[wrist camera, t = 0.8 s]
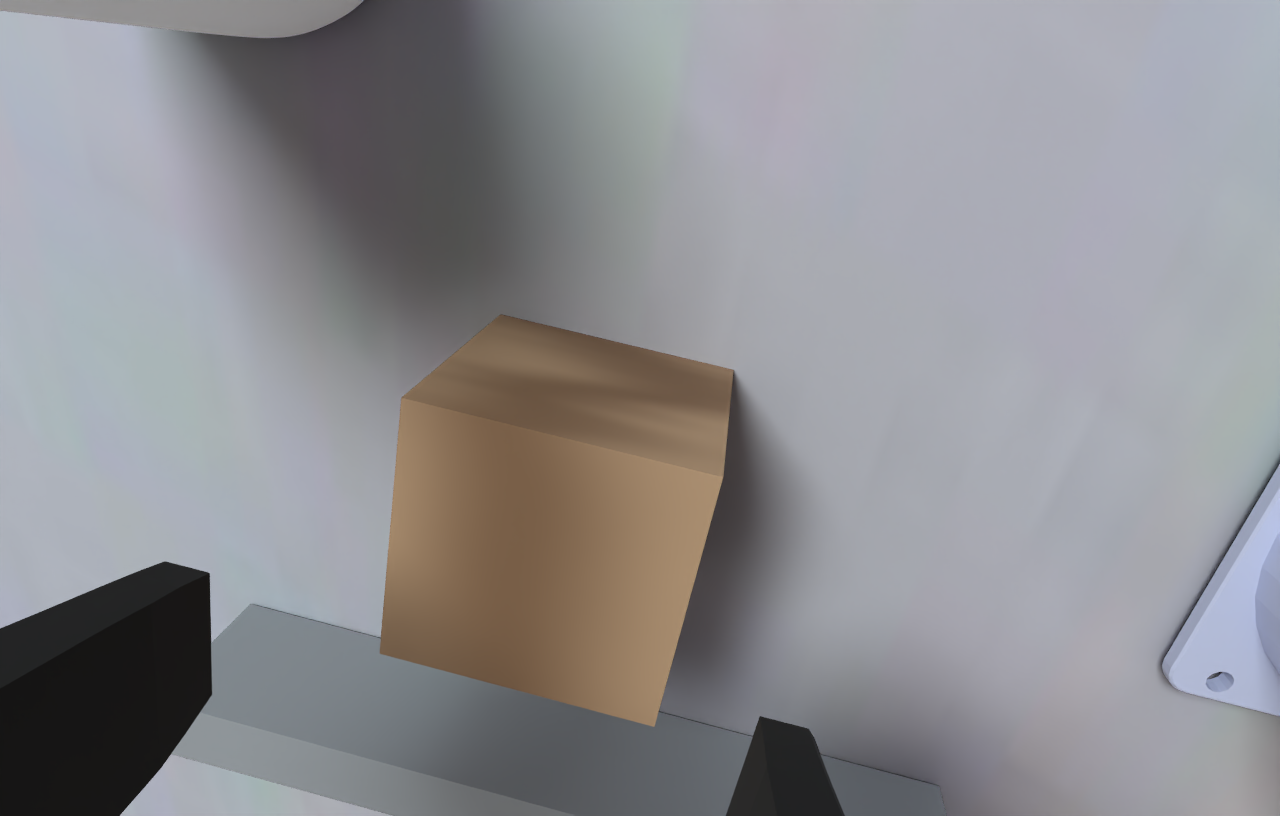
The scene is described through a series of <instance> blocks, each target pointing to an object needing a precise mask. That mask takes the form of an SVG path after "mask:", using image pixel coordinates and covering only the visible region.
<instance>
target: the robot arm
mask: <svg viewBox="0 0 1280 816" xmlns="http://www.w3.org/2000/svg"><path fill="white" fill-rule="evenodd" d="M1162 669H1163V673H1164V675H1165V676H1166V678H1167V679H1168V680H1169V682H1170V683H1171V684H1172V685H1173V687H1174V688H1175V689H1177V690H1180V691H1182V692H1185V693H1189V694H1193V695H1197V696H1200V697H1204V698H1208V699H1212V700H1216V701H1220V702H1224V703H1228V704H1232V705H1236V706H1240V707H1244V708H1248V709H1252V710H1256V711H1260V712H1264V713H1267V714H1271V715H1275V716H1279V717H1280V464H1279V466H1278V468H1277V469H1276V471H1275V473H1274V474H1273V476H1272V478H1271V480H1270V481H1269V483H1268V485H1267V486H1266V488H1265V490H1264V491H1263V493H1262V495H1261V496H1260V498H1259V500H1258V501H1257V503H1256V505H1255V506H1254V508H1253V510H1252V512H1251V513H1250V515H1249V517H1248V518H1247V520H1246V522H1245V523H1244V525H1243V527H1242V528H1241V530H1240V532H1239V533H1238V535H1237V537H1236V539H1235V540H1234V542H1233V544H1232V545H1231V547H1230V549H1229V550H1228V552H1227V554H1226V555H1225V557H1224V559H1223V560H1222V562H1221V564H1220V565H1219V567H1218V569H1217V571H1216V572H1215V574H1214V576H1213V577H1212V579H1211V581H1210V582H1209V584H1208V586H1207V587H1206V589H1205V591H1204V592H1203V594H1202V596H1201V598H1200V599H1199V601H1198V603H1197V604H1196V606H1195V608H1194V609H1193V611H1192V613H1191V614H1190V616H1189V618H1188V619H1187V621H1186V623H1185V624H1184V626H1183V628H1182V630H1181V631H1180V633H1179V635H1178V636H1177V638H1176V640H1175V641H1174V643H1173V645H1172V646H1171V648H1170V650H1169V651H1168V653H1167V655H1166V657H1165V658H1164V661H1163V664H1162ZM1217 672H1222V673H1221V674H1220V675H1219V676H1218V677H1215V678H1212V679H1207V678H1208V677H1209V676H1210V675H1211V674H1214V673H1217ZM211 696H212V662H211V617H210V573H208V572H204V571H200V570H196V569H192V568H188V567H185V566H181V565H177V564H173V563H169V562H162V563H159V564H157V565H154V566H151V567H149V568H146V569H143V570H141V571H138V572H136V573H133V574H131V575H128V576H126V577H123V578H121V579H118V580H116V581H113V582H111V583H109V584H106V585H104V586H101V587H99V588H96V589H94V590H92V591H89V592H87V593H85V594H82V595H80V596H77V597H75V598H73V599H70V600H68V601H66V602H63V603H61V604H58V605H56V606H54V607H51V608H49V609H47V610H44V611H42V612H39V613H37V614H35V615H32V616H30V617H27V618H25V619H22V620H20V621H18V622H15V623H13V624H10V625H8V626H6V627H3V628H1V629H0V816H120V814H121V813H122V812H123V811H124V810H125V809H126V808H127V806H128V805H129V804H130V803H131V802H132V801H133V800H134V798H135V797H136V796H137V795H138V794H139V793H140V792H141V791H142V789H143V788H144V787H145V786H146V785H147V784H148V782H149V781H150V780H151V779H152V778H153V777H154V775H155V774H156V773H157V772H158V771H159V770H160V768H161V767H162V766H163V764H164V763H165V762H166V760H167V759H168V757H169V756H170V755H171V753H172V752H173V751H174V749H175V748H176V746H177V745H178V744H179V742H180V741H181V740H182V738H183V737H184V735H185V734H186V732H187V731H188V730H189V728H190V727H191V725H192V724H193V722H194V721H195V719H196V718H197V716H198V715H199V713H200V712H201V710H202V709H203V707H204V706H205V704H206V703H207V702H208V700H209V699H210V697H211ZM726 816H845V815H844V812H843V810H842V808H841V805H840V803H839V800H838V798H837V795H836V793H835V790H834V788H833V786H832V783H831V780H830V778H829V775H828V773H827V770H826V768H825V765H824V762H823V760H822V757H821V755H820V752H819V749H818V747H817V744H816V741H815V739H814V737H813V735H812V734H811V732H810V730H809V729H807V728H803V727H799V726H795V725H792V724H788V723H784V722H780V721H776V720H772V719H769V718H765V717H761V716H760V718H759V721H758V723H757V726H756V729H755V732H754V735H753V738H752V741H751V744H750V747H749V750H748V752H747V755H746V758H745V761H744V764H743V767H742V770H741V773H740V776H739V779H738V781H737V784H736V787H735V790H734V793H733V796H732V799H731V802H730V805H729V808H728V810H727V813H726Z"/></svg>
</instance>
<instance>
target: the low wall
mask: <svg viewBox="0 0 1280 816" xmlns="http://www.w3.org/2000/svg"><path fill="white" fill-rule="evenodd" d="M380 642H381V638H378V637H374V636H370V635H366V634H362V633H359V632H355V631H351V630H347V629H344V628H340V627H336V626H332V625H328V624H325V623H321V622H317V621H313V620H310V619H306V618H302V617H298V616H294V615H291V614H287V613H283V612H279V611H276V610H272V609H268V608H264V607H260V606H257V605H253V604H250V605H249V606H248V607H247V608H246V609H245V610H244V611H243V612H242V613H241V614H240V615H239V616H238V617H237V618H236V619H235V620H234V621H233V622H232V623H231V624H230V625H229V626H228V627H227V628H226V629H225V630H224V631H223V632H222V633H221V634H220V635H219V636H218V637H217V638H216V639H215V640H214V641H213V642H212V643H211V662H212V696H211V697H210V699H209V700H208V702H207V703H206V704H205V706H204V707H203V709H202V710H201V712H200V713H199V715H198V716H197V718H196V719H195V721H194V722H193V724H192V725H191V727H190V728H189V730H188V731H187V732H186V734H185V735H184V737H183V738H182V740H181V741H180V742H179V744H178V745H177V746H176V748H175V749H174V751H173V752H172V753H171V754H173V755H176V756H180V757H183V758H187V759H191V760H194V761H198V762H201V763H205V764H209V765H212V766H216V767H220V768H223V769H227V770H230V771H234V772H238V773H241V774H245V775H248V776H252V777H256V778H259V779H263V780H266V781H270V782H274V783H277V784H281V785H284V786H288V787H292V788H295V789H299V790H302V791H306V792H310V793H313V794H317V795H320V796H324V797H328V798H331V799H335V800H339V801H342V802H346V803H349V804H353V805H357V806H360V807H364V808H367V809H371V810H375V811H378V812H382V813H385V814H389V815H393V816H726V813H727V810H728V808H729V805H730V802H731V799H732V796H733V793H734V790H735V787H736V784H737V781H738V779H739V776H740V773H741V770H742V767H743V764H744V761H745V758H746V755H747V752H748V750H749V747H750V744H751V741H752V738H753V737H752V736H748V735H744V734H740V733H736V732H733V731H729V730H725V729H721V728H718V727H714V726H710V725H706V724H702V723H699V722H695V721H691V720H687V719H684V718H680V717H676V716H672V715H668V714H665V713H661V712H658V715H657V719H656V723H655V726H654V727H653V726H649V725H645V724H642V723H638V722H634V721H630V720H627V719H623V718H619V717H615V716H611V715H608V714H604V713H600V712H596V711H593V710H589V709H585V708H581V707H578V706H574V705H570V704H566V703H563V702H559V701H555V700H551V699H548V698H544V697H540V696H536V695H533V694H529V693H525V692H521V691H518V690H514V689H510V688H506V687H503V686H499V685H495V684H491V683H488V682H484V681H480V680H476V679H473V678H469V677H465V676H461V675H458V674H454V673H450V672H446V671H442V670H439V669H435V668H431V667H427V666H424V665H420V664H416V663H412V662H409V661H405V660H401V659H397V658H394V657H390V656H386V655H382V654H380ZM821 757H822V760H823V762H824V765H825V768H826V770H827V773H828V775H829V778H830V780H831V783H832V786H833V788H834V790H835V793H836V795H837V798H838V800H839V803H840V805H841V808H842V810H843V812H844V815H845V816H947V815H946V811H945V807H944V803H943V799H942V796H941V792H940V788H939V786H937V785H933V784H929V783H925V782H922V781H918V780H914V779H910V778H906V777H903V776H899V775H895V774H891V773H888V772H884V771H880V770H876V769H872V768H869V767H865V766H861V765H857V764H854V763H850V762H846V761H842V760H838V759H835V758H831V757H827V756H823V755H821Z"/></svg>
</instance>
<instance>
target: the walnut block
mask: <svg viewBox="0 0 1280 816" xmlns="http://www.w3.org/2000/svg"><path fill="white" fill-rule="evenodd" d="M733 371H734V370H732V369H727V368H723V367H719V366H715V365H711V364H707V363H702V362H698V361H694V360H690V359H686V358H681V357H677V356H673V355H669V354H665V353H660V352H656V351H652V350H648V349H644V348H640V347H635V346H631V345H627V344H623V343H619V342H614V341H610V340H606V339H602V338H598V337H593V336H589V335H585V334H581V333H577V332H573V331H568V330H564V329H560V328H556V327H552V326H547V325H543V324H539V323H535V322H531V321H527V320H522V319H518V318H514V317H510V316H506V315H501V314H500V315H499V316H498V317H497V318H496V319H494V320H493V321H492V322H491V323H490V324H488V325H487V326H486V327H485V328H484V329H483V330H481V331H480V332H479V333H478V334H477V335H475V336H474V337H473V338H472V339H471V340H469V341H468V342H467V343H466V344H465V345H464V346H462V347H461V348H460V349H459V350H458V351H456V352H455V353H454V354H453V355H452V356H450V357H449V358H448V359H447V360H446V361H445V362H443V363H442V364H441V365H440V366H439V367H437V368H436V369H435V370H434V371H433V372H431V373H430V374H429V375H428V376H427V377H425V378H424V379H423V380H422V381H421V382H420V383H418V384H417V385H416V386H415V387H414V388H412V389H411V390H410V391H409V392H408V393H406V394H405V395H404V396H403V397H402V398H401V409H400V420H399V432H398V444H397V455H396V467H395V479H394V490H393V502H392V514H391V525H390V537H389V549H388V560H387V572H386V584H385V595H384V607H383V619H382V630H381V642H380V654H382V655H386V656H390V657H394V658H397V659H401V660H405V661H409V662H412V663H416V664H420V665H424V666H427V667H431V668H435V669H439V670H442V671H446V672H450V673H454V674H458V675H461V676H465V677H469V678H473V679H476V680H480V681H484V682H488V683H491V684H495V685H499V686H503V687H506V688H510V689H514V690H518V691H521V692H525V693H529V694H533V695H536V696H540V697H544V698H548V699H551V700H555V701H559V702H563V703H566V704H570V705H574V706H578V707H581V708H585V709H589V710H593V711H596V712H600V713H604V714H608V715H611V716H615V717H619V718H623V719H627V720H630V721H634V722H638V723H642V724H645V725H649V726H653V727H654V726H655V723H656V719H657V715H658V712H659V708H660V705H661V701H662V697H663V694H664V690H665V686H666V683H667V679H668V676H669V672H670V668H671V665H672V661H673V657H674V654H675V650H676V647H677V643H678V639H679V636H680V632H681V628H682V625H683V621H684V618H685V614H686V610H687V607H688V603H689V600H690V596H691V592H692V589H693V585H694V581H695V578H696V574H697V571H698V567H699V563H700V560H701V556H702V552H703V549H704V545H705V542H706V538H707V534H708V531H709V527H710V523H711V520H712V516H713V513H714V509H715V505H716V502H717V498H718V494H719V491H720V487H721V484H722V480H723V475H724V464H725V454H726V443H727V433H728V423H729V412H730V402H731V391H732V381H733Z"/></svg>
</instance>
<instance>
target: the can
mask: <svg viewBox="0 0 1280 816" xmlns="http://www.w3.org/2000/svg"><path fill="white" fill-rule="evenodd" d="M363 1H364V0H0V11H7V12H16V13H25V14H34V15H43V16H52V17H61V18H70V19H79V20H87V21H96V22H105V23H114V24H123V25H132V26H141V27H151V28H160V29H169V30H178V31H188V32H197V33H207V34H217V35H227V36H238V37H251V38H281V37H290V36H296V35H300V34H304V33H308V32H311V31H314V30H317V29H319V28H322V27H324V26H326V25H328V24H330V23H332V22H334V21H336V20H338V19H340V18H342V17H343V16H345V15H347V14H348V13H350V12H351V11H352V10H354V9H355V8H356V7H357V6H358V5H360V4H361V3H362V2H363Z"/></svg>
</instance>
